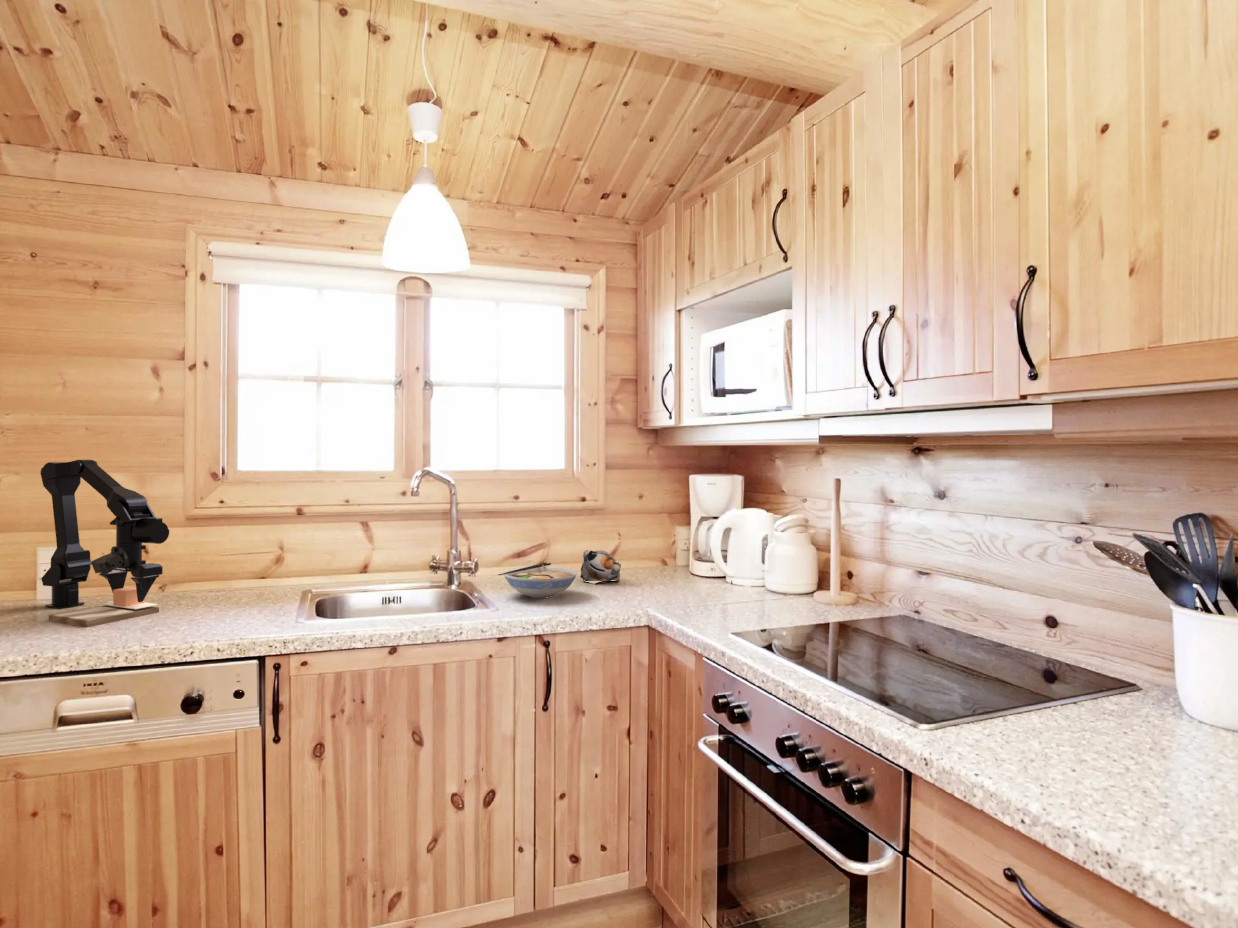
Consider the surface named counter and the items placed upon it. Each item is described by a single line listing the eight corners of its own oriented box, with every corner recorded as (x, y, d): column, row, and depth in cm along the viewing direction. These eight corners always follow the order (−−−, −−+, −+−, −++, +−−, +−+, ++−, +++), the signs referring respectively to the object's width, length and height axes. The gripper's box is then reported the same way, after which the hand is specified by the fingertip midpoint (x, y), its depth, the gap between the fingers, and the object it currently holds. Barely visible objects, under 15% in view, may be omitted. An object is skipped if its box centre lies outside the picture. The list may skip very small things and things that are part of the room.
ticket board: (48, 620, 178) (48, 614, 178) (122, 606, 195) (122, 601, 195) (86, 626, 172) (86, 620, 172) (159, 612, 189) (159, 606, 189)
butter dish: (100, 604, 189) (100, 588, 189) (123, 600, 194) (123, 584, 194) (135, 609, 184) (135, 593, 184) (157, 604, 189) (158, 589, 189)
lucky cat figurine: (626, 579, 248) (631, 547, 241) (610, 598, 238) (614, 565, 231) (589, 564, 253) (592, 532, 246) (572, 582, 243) (575, 549, 236)
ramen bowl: (545, 608, 201) (545, 579, 201) (484, 598, 213) (485, 571, 213) (593, 593, 222) (594, 568, 222) (536, 586, 234) (536, 561, 234)
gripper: (74, 543, 185) (73, 602, 185) (121, 547, 178) (120, 609, 178) (118, 538, 195) (117, 595, 195) (164, 542, 188) (163, 601, 188)
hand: (128, 600), depth 189 cm, fingers open, 9 cm apart
